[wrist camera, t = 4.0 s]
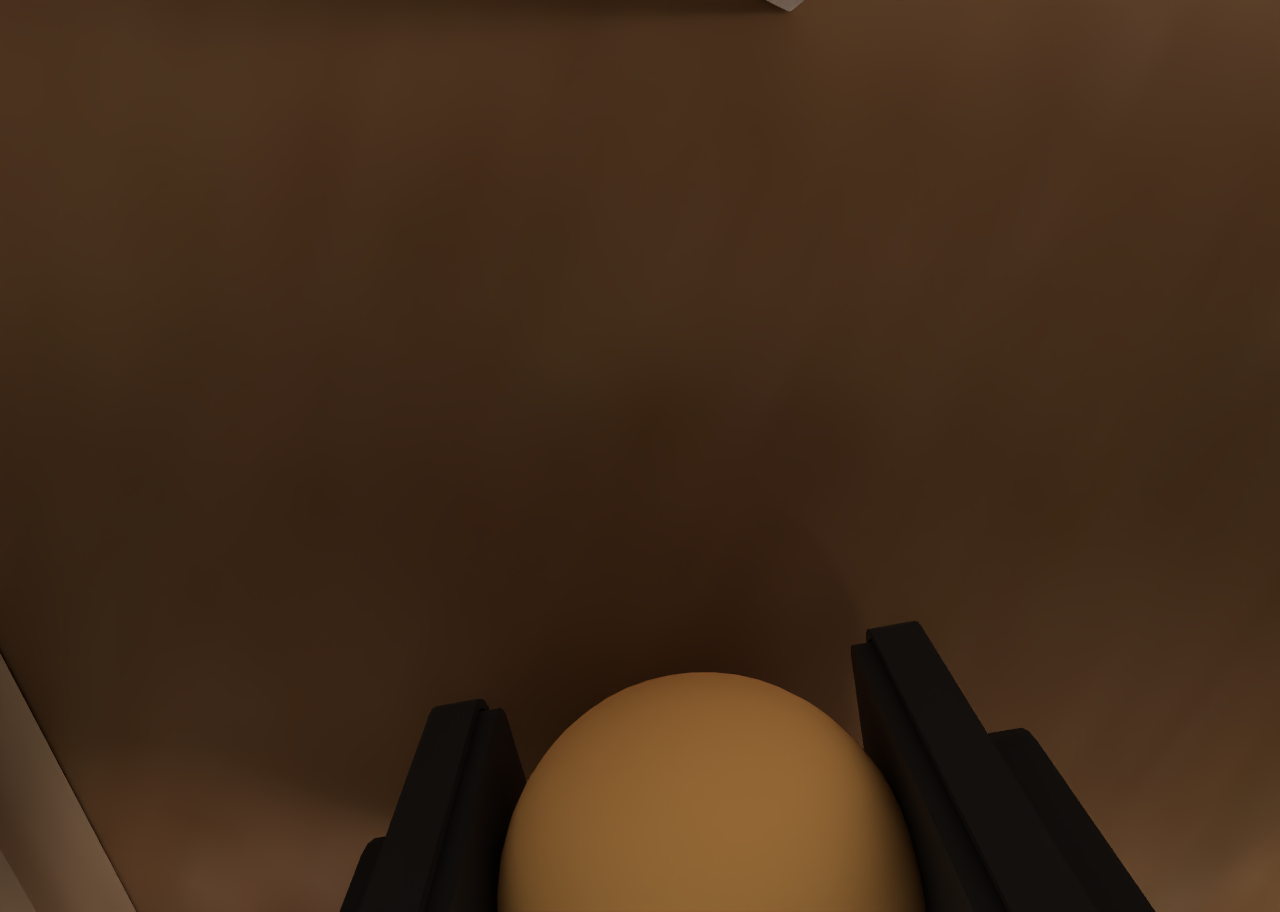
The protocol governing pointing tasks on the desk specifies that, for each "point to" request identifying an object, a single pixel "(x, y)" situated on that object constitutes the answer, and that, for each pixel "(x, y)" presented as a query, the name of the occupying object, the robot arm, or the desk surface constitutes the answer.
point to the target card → (786, 3)
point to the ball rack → (45, 825)
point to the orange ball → (707, 810)
